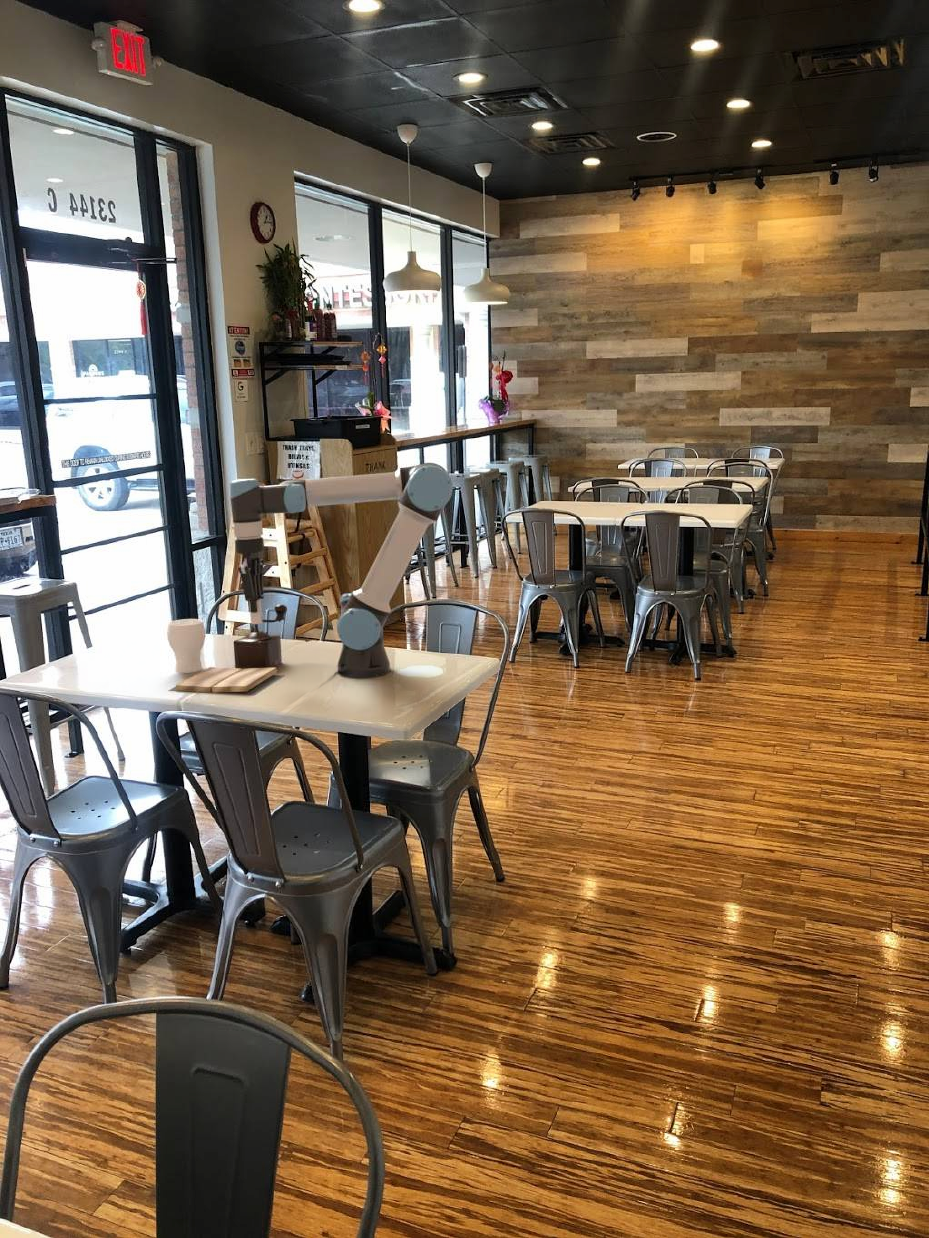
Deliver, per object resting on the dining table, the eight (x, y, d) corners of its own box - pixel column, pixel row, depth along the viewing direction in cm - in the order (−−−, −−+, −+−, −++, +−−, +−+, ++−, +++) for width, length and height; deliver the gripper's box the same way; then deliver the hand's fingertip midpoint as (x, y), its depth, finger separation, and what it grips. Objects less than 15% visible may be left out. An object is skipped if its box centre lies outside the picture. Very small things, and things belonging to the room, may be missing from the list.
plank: (276, 672, 296) (276, 667, 296) (246, 691, 277) (246, 685, 277) (244, 673, 299) (243, 668, 298) (212, 692, 279) (211, 686, 279)
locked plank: (242, 673, 299) (242, 668, 298) (210, 692, 280) (210, 686, 279) (210, 672, 301) (209, 667, 301) (176, 690, 282) (175, 685, 282)
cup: (198, 678, 299) (194, 626, 296) (163, 676, 301) (159, 625, 298) (214, 668, 309) (210, 618, 306) (180, 667, 311) (177, 618, 308)
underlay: (285, 678, 297) (285, 675, 296) (254, 698, 276) (254, 695, 276) (204, 674, 302) (203, 671, 302) (168, 694, 282) (167, 690, 282)
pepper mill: (268, 674, 301) (265, 613, 298) (234, 672, 304) (230, 611, 301) (292, 662, 316) (290, 603, 312) (259, 659, 319) (256, 601, 315)
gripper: (244, 534, 287) (252, 618, 292) (226, 541, 275) (234, 628, 280) (270, 533, 286) (278, 618, 291) (253, 540, 273) (261, 628, 278)
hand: (257, 623), depth 285 cm, fingers closed
